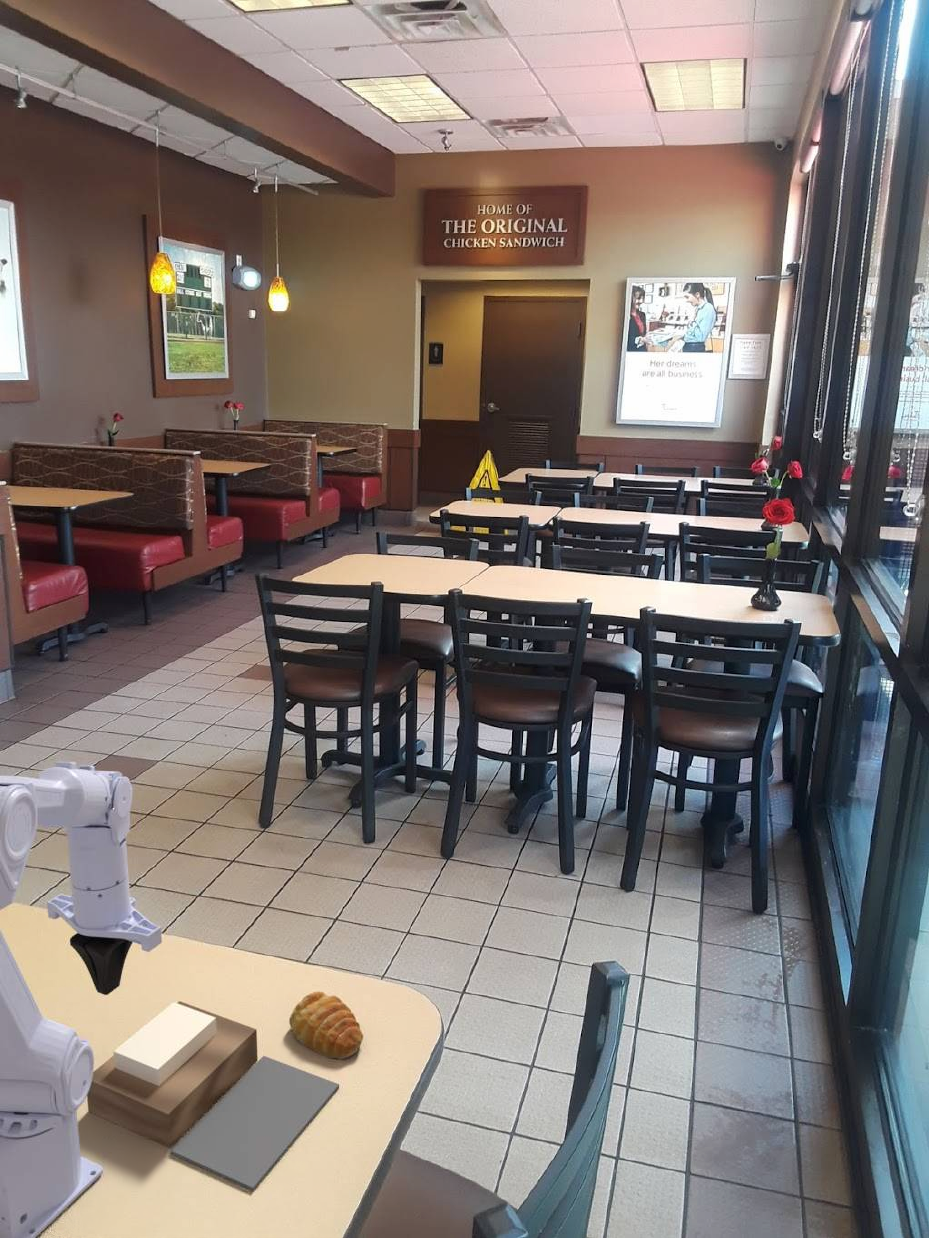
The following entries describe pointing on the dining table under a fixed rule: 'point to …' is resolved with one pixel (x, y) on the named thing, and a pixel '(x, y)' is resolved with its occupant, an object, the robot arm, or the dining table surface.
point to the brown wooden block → (175, 1085)
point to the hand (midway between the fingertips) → (108, 988)
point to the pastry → (326, 1026)
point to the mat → (255, 1122)
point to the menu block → (165, 1043)
